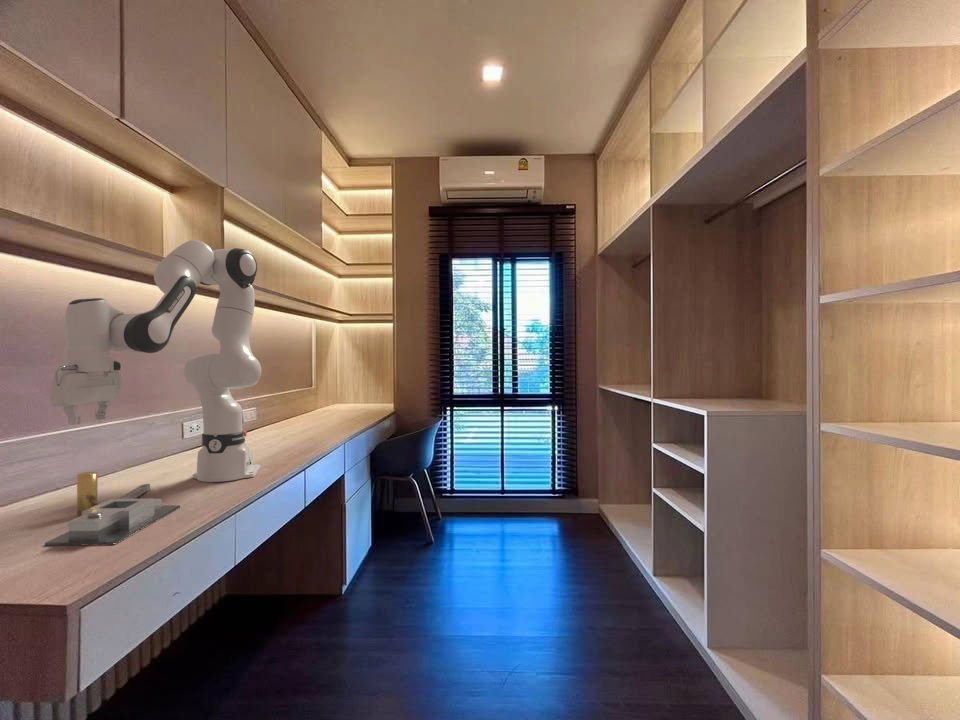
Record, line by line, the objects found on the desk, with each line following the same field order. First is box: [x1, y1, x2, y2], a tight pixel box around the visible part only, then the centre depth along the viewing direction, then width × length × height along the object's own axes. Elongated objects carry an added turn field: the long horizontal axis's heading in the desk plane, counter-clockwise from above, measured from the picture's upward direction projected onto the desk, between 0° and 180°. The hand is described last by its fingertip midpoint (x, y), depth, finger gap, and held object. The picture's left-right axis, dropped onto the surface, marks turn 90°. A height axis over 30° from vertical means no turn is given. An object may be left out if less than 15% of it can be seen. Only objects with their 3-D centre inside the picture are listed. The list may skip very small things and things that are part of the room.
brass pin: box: [76, 471, 99, 517], centre depth 130 cm, size 4×4×10 cm
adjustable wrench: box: [118, 483, 151, 499], centre depth 142 cm, size 25×6×2 cm, turn 11°
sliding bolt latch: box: [44, 497, 181, 547], centre depth 123 cm, size 26×14×5 cm, turn 3°
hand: (88, 421), depth 130 cm, fingers open, 8 cm apart
